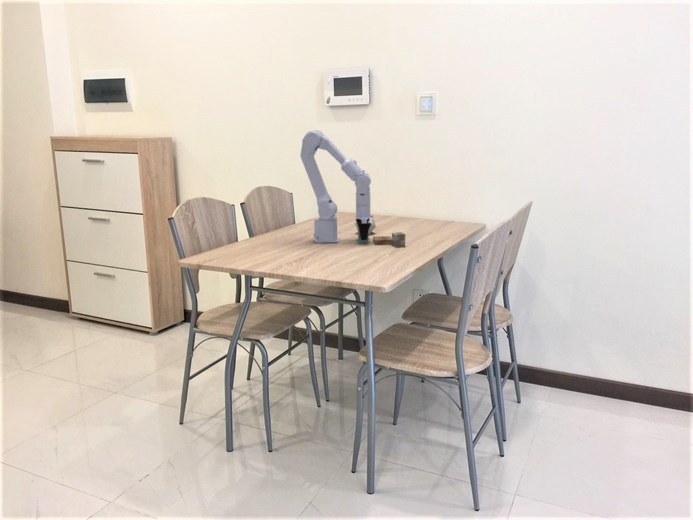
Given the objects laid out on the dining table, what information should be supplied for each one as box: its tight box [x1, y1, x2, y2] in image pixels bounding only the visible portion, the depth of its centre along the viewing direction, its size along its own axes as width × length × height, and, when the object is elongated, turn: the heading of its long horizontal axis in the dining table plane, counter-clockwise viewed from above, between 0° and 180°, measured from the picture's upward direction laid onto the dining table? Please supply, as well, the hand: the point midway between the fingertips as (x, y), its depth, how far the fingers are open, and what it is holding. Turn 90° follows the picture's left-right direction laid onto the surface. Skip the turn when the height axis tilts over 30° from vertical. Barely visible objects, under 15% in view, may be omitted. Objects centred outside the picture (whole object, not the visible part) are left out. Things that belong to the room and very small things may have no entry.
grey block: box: [391, 231, 406, 248], centre depth 225 cm, size 4×4×5 cm
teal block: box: [357, 229, 370, 244], centre depth 234 cm, size 4×4×5 cm
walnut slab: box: [372, 235, 392, 246], centre depth 231 cm, size 7×7×2 cm
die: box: [354, 216, 377, 236], centre depth 249 cm, size 8×9×10 cm
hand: (363, 238), depth 234 cm, fingers open, 7 cm apart
